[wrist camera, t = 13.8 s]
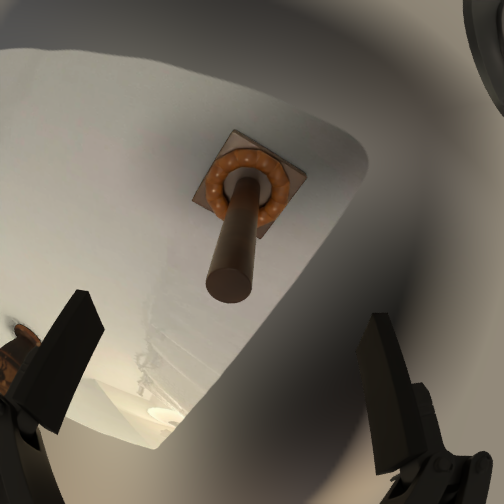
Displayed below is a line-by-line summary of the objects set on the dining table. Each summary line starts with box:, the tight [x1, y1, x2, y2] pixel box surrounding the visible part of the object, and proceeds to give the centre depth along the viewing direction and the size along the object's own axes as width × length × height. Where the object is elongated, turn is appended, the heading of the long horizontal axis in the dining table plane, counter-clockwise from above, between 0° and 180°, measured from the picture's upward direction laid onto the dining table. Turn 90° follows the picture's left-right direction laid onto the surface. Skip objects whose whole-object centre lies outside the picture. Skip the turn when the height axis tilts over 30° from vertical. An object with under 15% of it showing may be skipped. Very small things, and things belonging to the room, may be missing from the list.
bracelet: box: [205, 149, 290, 228], centre depth 26 cm, size 8×8×2 cm
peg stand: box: [192, 130, 307, 303], centre depth 21 cm, size 8×8×15 cm
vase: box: [0, 324, 41, 396], centre depth 35 cm, size 11×11×30 cm
